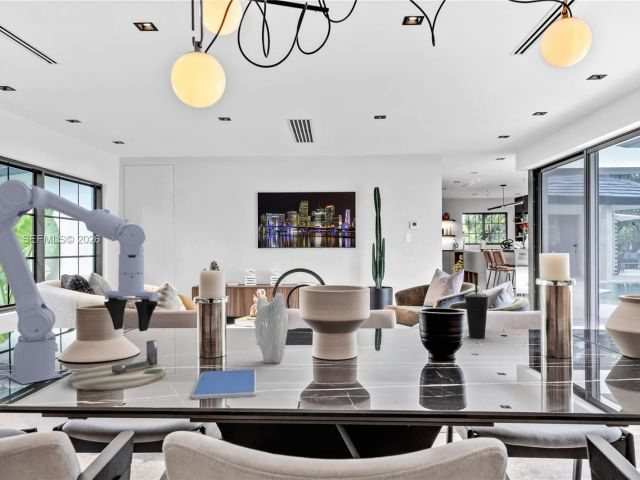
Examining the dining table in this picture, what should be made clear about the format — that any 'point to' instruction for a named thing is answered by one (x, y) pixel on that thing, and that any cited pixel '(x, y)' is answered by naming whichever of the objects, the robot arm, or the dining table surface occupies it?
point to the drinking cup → (476, 312)
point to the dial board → (115, 377)
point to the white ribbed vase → (271, 328)
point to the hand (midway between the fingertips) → (130, 329)
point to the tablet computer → (225, 384)
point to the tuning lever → (150, 360)
